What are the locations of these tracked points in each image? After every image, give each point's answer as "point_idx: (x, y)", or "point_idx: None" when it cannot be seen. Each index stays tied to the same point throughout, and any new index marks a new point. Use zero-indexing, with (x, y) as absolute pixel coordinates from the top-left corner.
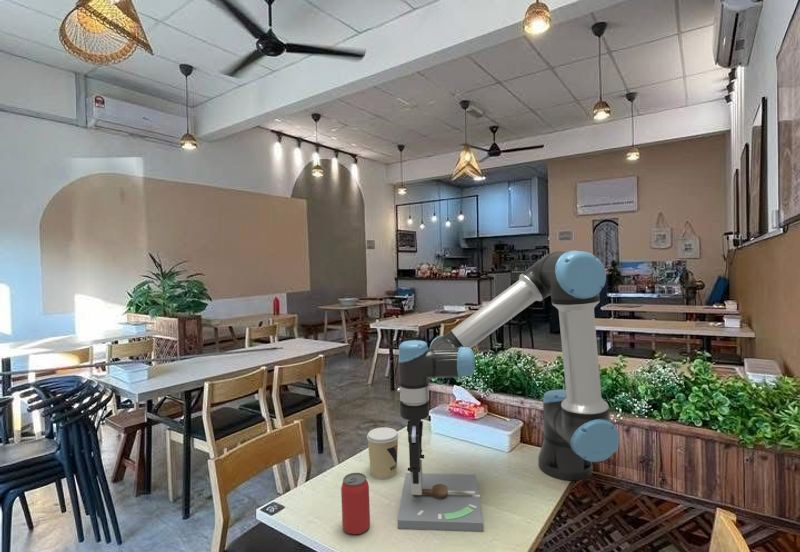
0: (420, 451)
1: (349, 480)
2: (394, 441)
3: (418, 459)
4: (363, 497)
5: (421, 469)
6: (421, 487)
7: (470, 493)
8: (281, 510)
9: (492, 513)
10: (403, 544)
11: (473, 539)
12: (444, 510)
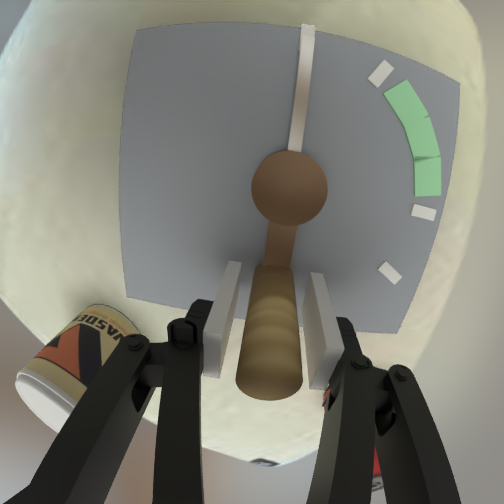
0: (199, 385)
1: (372, 488)
2: (67, 392)
3: (433, 431)
4: None
5: (231, 304)
6: (320, 287)
7: (312, 55)
8: (269, 459)
9: (361, 20)
10: (442, 305)
11: (469, 127)
12: (393, 186)
